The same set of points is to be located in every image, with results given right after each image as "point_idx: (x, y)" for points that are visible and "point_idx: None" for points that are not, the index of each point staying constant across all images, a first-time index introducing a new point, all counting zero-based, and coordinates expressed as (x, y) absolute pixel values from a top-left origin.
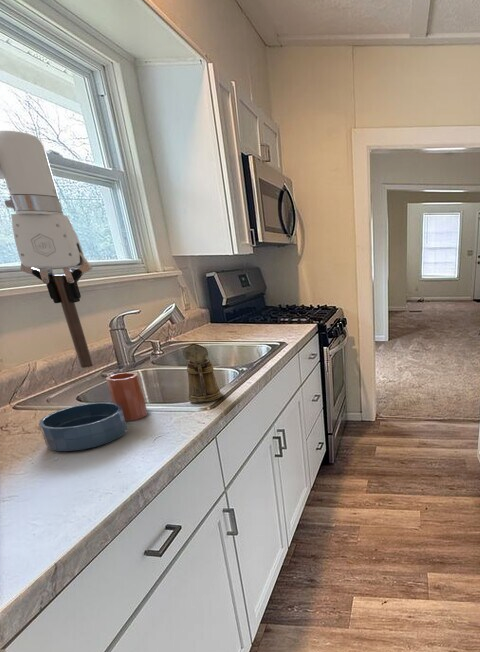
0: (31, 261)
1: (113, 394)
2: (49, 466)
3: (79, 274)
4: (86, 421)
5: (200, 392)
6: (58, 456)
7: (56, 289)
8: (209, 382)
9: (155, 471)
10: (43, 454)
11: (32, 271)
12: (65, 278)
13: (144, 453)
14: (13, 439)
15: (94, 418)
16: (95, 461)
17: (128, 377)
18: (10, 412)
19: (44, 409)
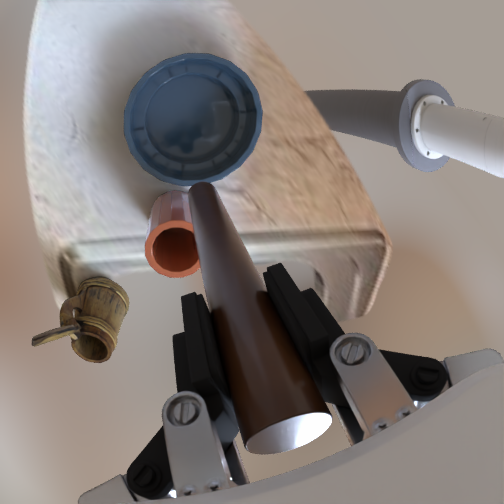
0: (487, 425)
1: (184, 208)
2: (189, 26)
3: (136, 464)
4: (217, 152)
5: (89, 291)
6: None
7: (290, 338)
8: (76, 311)
9: (30, 40)
10: None
11: (447, 378)
12: (239, 424)
13: (66, 78)
14: (316, 118)
15: (205, 160)
16: (126, 44)
17: (180, 265)
18: (378, 220)
19: (342, 232)
